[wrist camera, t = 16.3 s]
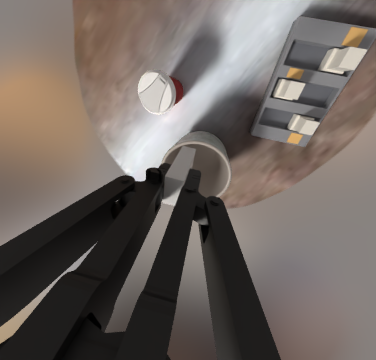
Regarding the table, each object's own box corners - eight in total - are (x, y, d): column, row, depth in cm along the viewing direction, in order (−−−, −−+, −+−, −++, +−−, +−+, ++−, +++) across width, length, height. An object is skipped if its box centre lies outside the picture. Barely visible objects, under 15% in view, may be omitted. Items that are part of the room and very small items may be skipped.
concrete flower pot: (203, 111, 41) (196, 122, 28) (239, 154, 46) (247, 181, 33) (165, 149, 49) (147, 171, 36) (199, 182, 54) (193, 212, 41)
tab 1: (279, 79, 33) (288, 78, 28) (297, 82, 33) (309, 82, 28) (271, 96, 35) (279, 98, 30) (288, 99, 35) (299, 102, 30)
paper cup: (170, 65, 36) (148, 57, 25) (193, 89, 38) (182, 91, 27) (154, 93, 40) (128, 96, 29) (175, 113, 42) (159, 124, 31)
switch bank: (293, 22, 29) (301, 15, 26) (366, 34, 28) (382, 29, 26) (249, 132, 41) (251, 135, 39) (299, 142, 41) (305, 147, 38)
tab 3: (328, 50, 29) (348, 43, 25) (348, 53, 29) (372, 47, 25) (316, 70, 31) (333, 68, 27) (336, 74, 31) (356, 72, 26)
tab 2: (293, 113, 36) (304, 118, 31) (310, 117, 36) (323, 121, 31) (286, 127, 38) (295, 133, 33) (302, 130, 38) (313, 137, 33)
